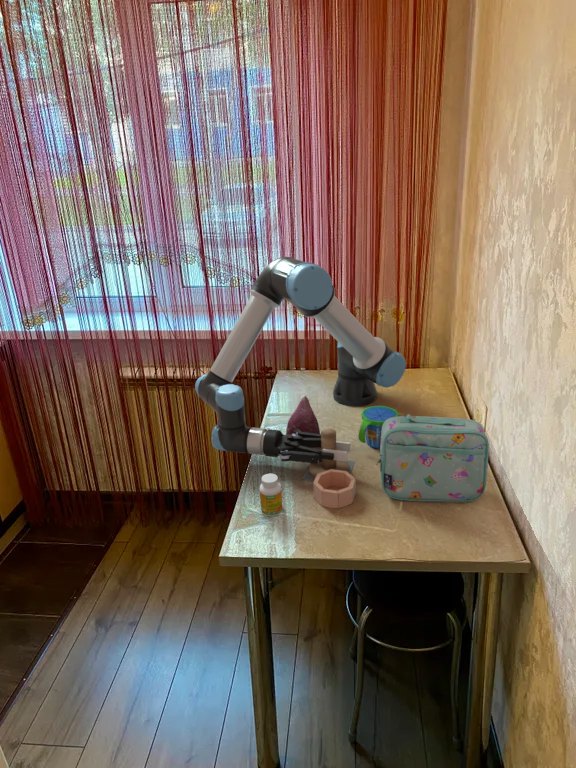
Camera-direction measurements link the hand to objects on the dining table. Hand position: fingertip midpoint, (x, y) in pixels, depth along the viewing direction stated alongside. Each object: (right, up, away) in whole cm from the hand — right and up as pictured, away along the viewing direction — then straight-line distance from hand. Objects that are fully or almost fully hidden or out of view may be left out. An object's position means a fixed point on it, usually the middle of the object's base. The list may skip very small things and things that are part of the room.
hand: (348, 451), depth 149 cm
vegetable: (-12, +1, +22) cm, 25 cm away
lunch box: (+20, -10, -6) cm, 23 cm away
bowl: (-4, -11, -6) cm, 13 cm away
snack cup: (+11, 0, +17) cm, 20 cm away
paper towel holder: (-5, -6, +4) cm, 9 cm away
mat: (-5, -6, +4) cm, 9 cm away
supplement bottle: (-20, -14, -10) cm, 26 cm away
